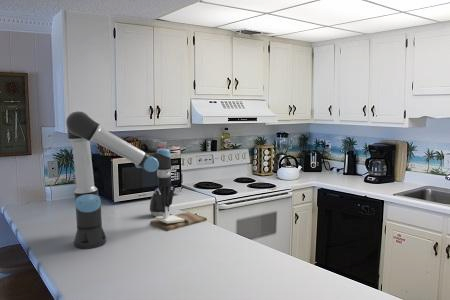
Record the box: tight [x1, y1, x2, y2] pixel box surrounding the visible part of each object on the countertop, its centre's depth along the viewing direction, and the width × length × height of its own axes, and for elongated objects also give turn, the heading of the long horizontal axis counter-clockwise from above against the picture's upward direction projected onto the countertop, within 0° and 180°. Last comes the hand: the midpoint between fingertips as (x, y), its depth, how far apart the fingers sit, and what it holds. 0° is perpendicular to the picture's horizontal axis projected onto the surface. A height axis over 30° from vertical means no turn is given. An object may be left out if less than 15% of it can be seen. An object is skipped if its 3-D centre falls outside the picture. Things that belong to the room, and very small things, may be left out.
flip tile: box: [154, 214, 185, 223], centre depth 224 cm, size 12×12×1 cm
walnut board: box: [150, 211, 208, 232], centre depth 228 cm, size 27×18×3 cm, turn 132°
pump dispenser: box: [149, 191, 163, 217], centre depth 242 cm, size 10×10×15 cm
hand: (165, 217), depth 222 cm, fingers closed
